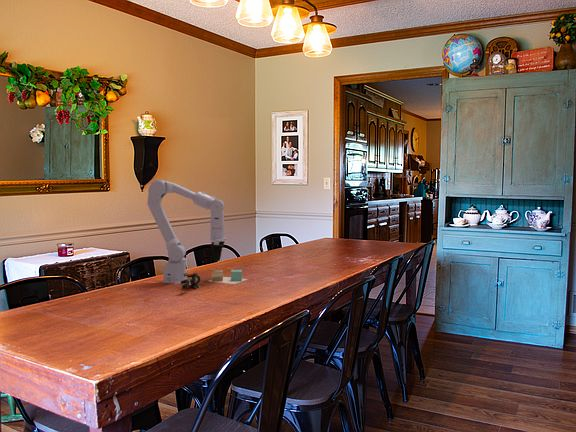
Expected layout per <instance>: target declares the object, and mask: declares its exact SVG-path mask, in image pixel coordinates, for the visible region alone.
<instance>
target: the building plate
mask: <svg viewBox="0 0 576 432" xmlns="http://www.w3.org/2000/svg"><path fill="white" fill-rule="evenodd" d="M244 281H248V278H242V281H231V276H223V281H212V279H209V280H208V282H210V283H212V282H213V283H219V284H220V283H221V284H230V285H236V284H239V283H241V282H244Z"/></svg>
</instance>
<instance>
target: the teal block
mask: <svg viewBox="0 0 576 432" xmlns="http://www.w3.org/2000/svg"><path fill="white" fill-rule="evenodd" d="M230 278H231V281H242V279H243V270H242V269H230ZM242 282H243V281H242Z"/></svg>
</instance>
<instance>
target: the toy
mask: <svg viewBox="0 0 576 432" xmlns="http://www.w3.org/2000/svg"><path fill="white" fill-rule="evenodd" d="M183 274H184V273H183ZM184 276H186V280H183V281H181V283H180V284H181V290H186V289H189V288H192V289H193V290H195V291H196V290H198V289H200V288H201V287H202V286H201V285H198V284H199V283H200V282H201V277H200V275H198V272H194V273H191V274H189V273H187V272H186V273H185V274H184Z"/></svg>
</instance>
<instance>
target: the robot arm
mask: <svg viewBox="0 0 576 432" xmlns="http://www.w3.org/2000/svg"><path fill="white" fill-rule="evenodd" d="M169 193H170V194H174V193H175V194H177V195H179V196H182V197H185V198H187V199H189V200H191V201H192V202H193V204H194V205H196V206H198V207H200V208H203V209H205V210H207V211H208V210H209V211H210V220H209V221H210V238H209V240H210V242H211V244H209V246H210V249H211V251H212V256H213V261H214V262H220V261H221V257H222V251H223V247H224V245H225V241H227V237H225V217H224V215H225V213H224V209H225V204H224V202H223V201H222V199H220V198H219V199H218V198H216V196H211V195H208V194H206V192H205V191H196V192H194V191H192V190H190V189H188V188H186V187H184V186H181V185H179V184H177V183H175V182H171V181H167V180H165V179H154V180H153V181H152V182H151V183H150V185H149V187H148V193H147V202H146V203H147V206H148V209H149V210H150V213H151V215H152V217H153V218H154V219H153V220H154V221H155V223H156V225H157V227H158V230H159V232H160V234H161V235H162V237H163V239H164V243H165V247H166V249H167V256H168V262H167V263H165V264H164V266H163V269H162V270H163V272H162V273H163V281H162V282H161V283H162V284H169V283H170V284H181V281H183V280H186V279H187V276H184V274H185V273H187V259H186V258H185V255H187V254H186V253H187V248H186V246H184V245H183V244H182V243H181V242H180V239H178V237H177V235H176V233H175V232H174V230H173V227H172V225H171V222H170V220H169V218H168V217H167V214H166V213H165V210H164V208H163V206H162V201H163V199H164V197H165V196H166V194H169ZM183 273H184V274H183Z"/></svg>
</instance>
